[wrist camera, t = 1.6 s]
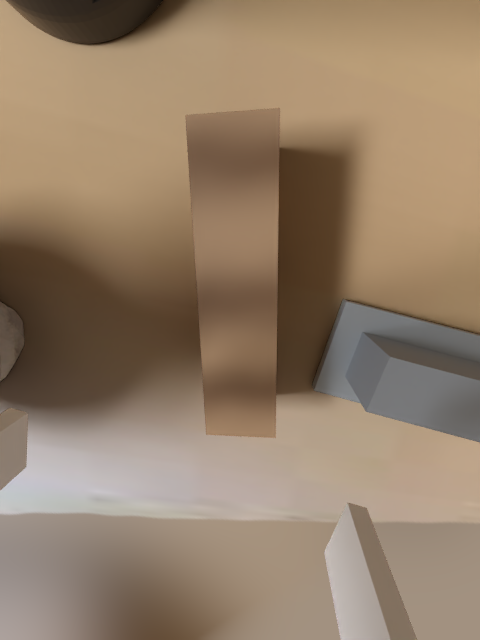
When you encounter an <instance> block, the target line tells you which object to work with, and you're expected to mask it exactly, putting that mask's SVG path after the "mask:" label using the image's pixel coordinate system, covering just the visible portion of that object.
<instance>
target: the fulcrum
mask: <svg viewBox="0 0 480 640" xmlns="http://www.w3.org/2000/svg"><path fill="white" fill-rule="evenodd" d="M312 386H313V389H314V391H317V392H321V393H324V394H328V395H332V396H336V397H339V398H343V399H347V400H350V401H354V402H358V403H361V404H362V406H363V407H364V409H365V411H366V412H369V413H373V414H377V415H381V416H384V417H388V418H392V419H395V420H399V421H403V422H406V423H410V424H414V425H417V426H421V427H425V428H429V429H432V430H436V431H440V432H443V433H447V434H451V435H454V436H458V437H462V438H465V439H469V440H473V441H477V442H480V335H479V334H476V333H472V332H468V331H464V330H460V329H456V328H452V327H449V326H445V325H441V324H437V323H433V322H429V321H426V320H422V319H418V318H414V317H410V316H406V315H402V314H399V313H395V312H391V311H387V310H383V309H379V308H376V307H372V306H368V305H364V304H360V303H356V302H352V301H349V300H345V299H343V301H342V303H341V306H340V309H339V312H338V314H337V317H336V320H335V323H334V326H333V328H332V331H331V334H330V337H329V339H328V342H327V345H326V348H325V350H324V353H323V356H322V359H321V361H320V364H319V367H318V370H317V373H316V375H315V378H314V381H313V384H312Z"/></svg>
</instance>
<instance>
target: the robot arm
mask: <svg viewBox="0 0 480 640" xmlns="http://www.w3.org/2000/svg"><path fill="white" fill-rule="evenodd" d="M6 1H7V2H8V3H9V4H10V5H11V6H12V7H13V8H15V9H16V10H17V11H18V12H19V13H20V14H21V15H22V16H23V17H24V18H25V19H27V20H28V21H29V22H30V23H32V24H33V25H34V26H36V27H37V28H39V29H40V30H42V31H44V32H46V33H48V34H50V35H52V36H54V37H57V38H59V39H62V40H66V41H69V42H75V43H100V42H105V41H109V40H112V39H115V38H118V37H120V36H123V35H124V34H126V33H128V32H130V31H132V30H133V29H135V28H136V27H137V26H139V25H140V24H141V23H143V22H144V21H145V20H146V19H147V18H148V17H149V16H150V15H151V14H152V13H153V12H154V11H155V10H156V9H157V7H158V6H159V5H160V4H161V2H162V1H163V0H6ZM27 430H28V413H27V412H23V411H20V410H16V409H13V408H9V409H7V410H6V411H4V412H2V413H1V414H0V490H1V489H2V488H3V487H5V486H6V485H7V484H8V483H9V482H10V481H11V480H12V479H13V478H14V477H16V476H17V475H18V474H19V473H20V472H21V471H22V470H23V469H24V468H25V467H26V460H27ZM325 558H326V564H327V569H328V574H329V579H330V584H331V590H332V595H333V601H334V606H335V611H336V616H337V621H338V627H339V632H340V638H341V640H417V638H416V635H415V633H414V630H413V628H412V625H411V622H410V620H409V617H408V614H407V612H406V609H405V607H404V604H403V601H402V599H401V596H400V594H399V591H398V588H397V586H396V583H395V581H394V578H393V575H392V573H391V570H390V568H389V565H388V562H387V560H386V557H385V555H384V552H383V549H382V547H381V544H380V542H379V539H378V536H377V534H376V531H375V528H374V526H373V523H372V521H371V518H370V515H369V513H368V510H367V508H365V507H362V506H358V505H354V504H351V503H347V504H346V506H345V509H344V511H343V513H342V515H341V517H340V519H339V522H338V524H337V526H336V528H335V530H334V533H333V535H332V537H331V539H330V541H329V543H328V545H327V548H326V550H325Z"/></svg>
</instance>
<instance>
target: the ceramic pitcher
mask: <svg viewBox="0 0 480 640" xmlns="http://www.w3.org/2000/svg"><path fill="white" fill-rule="evenodd" d="M23 347H24V331H23V321H22V320H21V318H20V317H19V316H18V314H17V313H16V312H15V310H13V309H11V308H10V307H8V306H7V305H5V304H3V303H2V302H0V382H1V381H2V380H3V379H4V378H5V377H6V376H7V374H8V373H9V371H10V370H11V368H12V366H13V365H14V363H15V361H16V360H17V358H18V357H19V354H20V352H21V350H22V348H23Z"/></svg>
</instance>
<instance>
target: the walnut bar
mask: <svg viewBox="0 0 480 640" xmlns="http://www.w3.org/2000/svg"><path fill="white" fill-rule="evenodd" d="M186 131H187V146H188V161H189V177H190V192H191V207H192V223H193V238H194V253H195V269H196V284H197V299H198V315H199V330H200V345H201V361H202V376H203V392H204V407H205V422H206V435H226V436H248V437H270V438H276V367H277V291H278V214H279V138H280V108H275V109H261V110H248V111H234V112H221V113H207V114H193V115H186Z"/></svg>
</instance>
